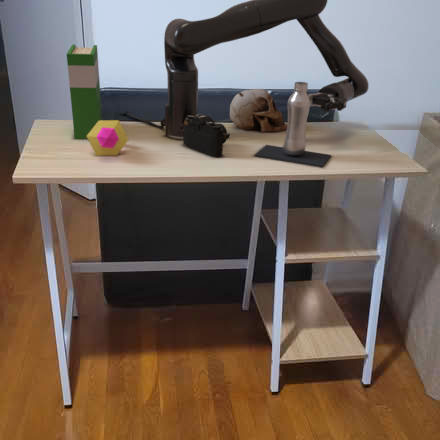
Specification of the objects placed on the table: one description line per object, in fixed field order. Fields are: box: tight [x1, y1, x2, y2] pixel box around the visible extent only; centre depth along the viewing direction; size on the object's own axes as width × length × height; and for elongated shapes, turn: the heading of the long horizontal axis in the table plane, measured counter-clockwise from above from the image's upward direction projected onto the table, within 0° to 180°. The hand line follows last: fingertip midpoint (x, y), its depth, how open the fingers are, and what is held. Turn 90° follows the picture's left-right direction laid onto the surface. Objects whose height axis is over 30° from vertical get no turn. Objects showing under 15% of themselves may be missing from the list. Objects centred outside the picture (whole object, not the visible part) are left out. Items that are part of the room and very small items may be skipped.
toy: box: [87, 119, 130, 157], centre depth 157 cm, size 10×18×10 cm, turn 11°
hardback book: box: [66, 44, 103, 140], centre depth 171 cm, size 18×7×24 cm, turn 7°
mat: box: [254, 144, 332, 168], centre depth 163 cm, size 20×11×1 cm, turn 68°
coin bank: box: [229, 88, 287, 133], centre depth 186 cm, size 16×17×13 cm
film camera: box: [180, 113, 231, 158], centre depth 164 cm, size 18×12×10 cm
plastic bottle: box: [282, 81, 311, 155], centre depth 158 cm, size 6×7×20 cm
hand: (312, 105), depth 164 cm, fingers open, 8 cm apart
